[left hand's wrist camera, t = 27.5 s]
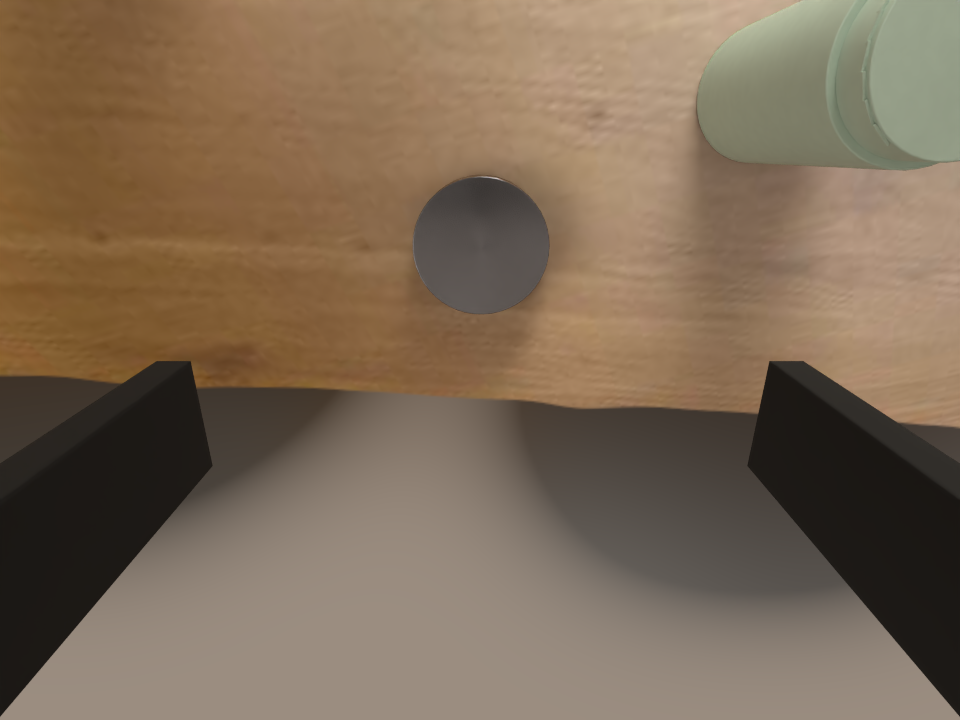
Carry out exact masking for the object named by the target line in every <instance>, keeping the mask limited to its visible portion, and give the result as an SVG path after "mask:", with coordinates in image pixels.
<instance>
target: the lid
mask: <svg viewBox="0 0 960 720" xmlns="http://www.w3.org/2000/svg"><path fill="white" fill-rule="evenodd" d="M413 255H414V261H415V264H416V268H417V270H418V273H419V275H420V277H421V279H422V281H423V282H424V284H425V285H426V287H427V288H428V289H429V291H430V292H431V293H432V294H433V295H434V296H435V297H436V298H438V299H439V300H440V301H442V302H443V303H445V304H446V305H448V306H450V307H452V308H454V309H456V310H459V311H462V312H466V313H472V314H490V313H496V312H500V311H503V310H506V309H508V308H510V307H512V306H514V305H516V304H517V303H519V302H520V301H522V300H523V299H524V298H525V297H527V296H528V295H529V294H530V293H531V292H532V290H533V289H534V288H535V287H536V285H537V284H538V282H539V281H540V279H541V277H542V275H543V273H544V271H545V268H546V265H547V261H548V256H549V235H548V229H547V226H546V223H545V220H544V218H543V216H542V213H541V211H540V210H539V208H538V207H537V205H536V204H535V203H534V201H533V200H532V199H531V198H530V197H529V196H528V195H527V194H526V193H525V192H524V191H523V190H522V189H520V188H519V187H517V186H516V185H514V184H513V183H511V182H509V181H507V180H505V179H502V178H499V177H495V176H489V175H474V176H468V177H463V178H460V179H458V180H455V181H453V182H451V183H449V184H448V185H446V186H444V187H443V188H442V189H441V190H439V191H438V192H437V193H436V194H435V195H434V196H433V197H432V198H431V199H430V200H429V201H428V203H427V204H426V205H425V207H424V208H423V210H422V212H421V214H420V215H419V218H418V220H417V223H416V226H415V230H414V236H413Z"/></svg>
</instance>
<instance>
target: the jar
mask: <svg viewBox="0 0 960 720" xmlns="http://www.w3.org/2000/svg"><path fill="white" fill-rule="evenodd" d="M697 114H698V119H699V124H700V127H701V130H702V132H703V134H704V136H705V138H706V139H707V141H708V142H709V144H710V145H711V146H712V147H713V148H714V149H715V150H716V151H717V152H719V153H720V154H721V155H723V156H725V157H727V158H728V159H731V160H734V161H737V162H743V163H760V164H780V165H801V166H821V167H842V168H862V169H883V170H913V169H920V168H924V167H928V166H932V165H934V164H937V163H940V162H943V163H947V162H957V161H960V0H802V1H800V2H798V3H796V4H794V5H791V6H789V7H787V8H785V9H783V10H781V11H779V12H776V13H774V14H772V15H770V16H768V17H766V18H763V19H761V20H759V21H757V22H755V23H753V24H751V25H748V26H746V27H744V28H743V29H741V30H739V31H737V32H736V33H735V34H733V35H732V36H731V37H729V38H728V39H727V40H726V41H725V42H724V43H723V44H722V45H721V46H720V47H719V48H718V49H717V51H716V52H715V53H714V55H713V56H712V58H711V59H710V61H709V63H708V64H707V66H706V68H705V70H704V73H703V75H702V78H701V81H700V85H699V89H698V95H697Z"/></svg>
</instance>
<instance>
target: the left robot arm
mask: <svg viewBox="0 0 960 720" xmlns="http://www.w3.org/2000/svg"><path fill="white" fill-rule="evenodd" d="M211 467H212V461H211V456H210V452H209V447H208V442H207V437H206V433H205V428H204V423H203V418H202V414H201V409H200V404H199V400H198V395H197V390H196V385H195V380H194V376H193V371H192V366H191V361H156V362H155V363H153V364H152V365H150V366H149V367H147V368H146V369H144V370H143V371H141V372H139V373H138V374H136V375H135V376H133V377H132V378H130V379H129V380H127V381H126V382H124V383H123V384H121V385H120V386H118V387H117V388H115V389H114V390H112V391H110V392H109V393H107V394H106V395H104V396H103V397H101V398H100V399H98V400H97V401H95V402H94V403H92V404H91V405H89V406H87V407H86V408H84V409H83V410H81V411H80V412H78V413H77V414H75V415H74V416H72V417H71V418H69V419H68V420H66V421H65V422H63V423H61V424H60V425H58V426H57V427H55V428H54V429H52V430H51V431H49V432H48V433H46V434H45V435H43V436H42V437H40V438H39V439H37V440H35V441H34V442H32V443H31V444H29V445H28V446H26V447H25V448H23V449H22V450H20V451H19V452H17V453H16V454H14V455H13V456H11V457H9V458H8V459H6V460H5V461H3V462H2V463H0V716H1V715H2V714H3V713H4V711H5V710H6V709H7V708H8V707H9V705H10V704H11V703H12V702H13V701H14V700H15V698H16V697H17V696H18V695H19V694H20V693H21V691H22V690H23V689H24V688H25V687H26V685H27V684H28V683H29V682H30V681H31V680H32V678H33V677H34V676H35V675H36V674H37V672H38V671H39V670H40V669H41V668H42V667H43V665H44V664H45V663H46V662H47V661H48V660H49V658H50V657H51V656H52V655H53V653H54V652H55V651H56V650H57V649H58V648H59V646H60V645H61V644H62V643H63V642H64V641H65V639H66V638H67V637H68V636H69V635H70V634H71V632H72V631H73V630H74V629H75V628H76V626H77V625H78V624H79V623H80V622H81V621H82V619H83V618H84V617H85V616H86V615H87V613H88V612H89V611H90V610H91V609H92V608H93V606H94V605H95V604H96V603H97V602H98V600H99V599H100V598H101V597H102V596H103V595H104V593H105V592H106V591H107V590H108V589H109V587H110V586H111V585H112V584H113V583H114V582H115V580H116V579H117V578H118V577H119V576H120V574H121V573H122V572H123V571H124V570H125V569H126V567H127V566H128V565H129V564H130V563H131V561H132V560H133V559H134V558H135V557H136V556H137V554H138V553H139V552H140V551H141V550H142V548H143V547H144V546H145V545H146V544H147V542H148V541H149V540H150V539H151V538H152V537H153V535H154V534H155V533H156V532H157V531H158V530H159V528H160V527H161V526H162V525H163V524H164V523H165V521H166V520H167V519H168V518H169V517H170V515H171V514H172V513H173V512H174V511H175V510H176V508H177V507H178V506H179V505H180V504H181V502H182V501H183V500H184V499H185V498H186V497H187V495H188V494H189V493H190V492H191V491H192V489H193V488H194V487H195V486H196V485H197V484H198V482H199V481H200V480H201V479H202V478H203V476H204V475H205V474H206V473H207V472H208V471H209V469H210V468H211ZM748 467H749V468H750V469H751V471H752V472H753V473H754V474H755V475H756V476H757V478H758V479H759V480H760V481H761V482H762V484H763V485H764V486H765V487H766V488H767V489H768V491H769V492H770V493H771V494H772V495H773V497H774V498H775V499H776V500H777V501H778V502H779V504H780V505H781V506H782V507H783V508H784V510H785V511H786V512H787V513H788V514H789V515H790V517H791V518H792V519H793V520H794V521H795V522H796V524H797V525H798V526H799V527H800V528H801V530H802V531H803V532H804V533H805V534H806V535H807V537H808V538H809V539H810V540H811V541H812V543H813V544H814V545H815V546H816V547H817V548H818V550H819V551H820V552H821V553H822V554H823V555H824V557H825V558H826V559H827V560H828V561H829V563H830V564H831V565H832V566H833V567H834V569H835V570H836V571H837V572H838V573H839V574H840V576H841V577H842V578H843V579H844V580H845V582H846V583H847V584H848V585H849V586H850V587H851V589H852V590H853V591H854V592H855V593H856V595H857V596H858V597H859V598H860V599H861V600H862V602H863V603H864V604H865V605H866V606H867V608H868V609H869V610H870V611H871V612H872V613H873V615H874V616H875V617H876V618H877V619H878V621H879V622H880V623H881V624H882V625H883V626H884V628H885V629H886V630H887V631H888V632H889V633H890V635H891V636H892V637H893V638H894V639H895V641H896V642H897V643H898V644H899V645H900V646H901V648H902V649H903V650H904V651H905V652H906V654H907V655H908V656H909V657H910V658H911V660H912V661H913V662H914V663H915V664H916V665H917V667H918V668H919V669H920V670H921V671H922V672H923V674H924V675H925V676H926V677H927V678H928V680H929V681H930V682H931V683H932V684H933V685H934V687H935V688H936V689H937V690H938V691H939V693H940V694H941V695H942V696H943V697H944V698H945V700H946V701H947V702H948V703H949V704H950V706H951V707H952V708H953V709H954V710H955V711H956V713H957V714H958V715H959V716H960V463H958V462H957V461H955V460H954V459H952V458H951V457H949V456H947V455H946V454H944V453H943V452H941V451H940V450H938V449H937V448H935V447H934V446H932V445H931V444H929V443H928V442H926V441H925V440H923V439H921V438H920V437H918V436H917V435H915V434H914V433H912V432H911V431H909V430H908V429H906V428H905V427H903V426H902V425H900V424H899V423H897V422H895V421H894V420H892V419H891V418H889V417H888V416H886V415H885V414H883V413H882V412H880V411H879V410H877V409H876V408H874V407H873V406H871V405H869V404H868V403H866V402H865V401H863V400H862V399H860V398H859V397H857V396H856V395H854V394H853V393H851V392H850V391H848V390H847V389H845V388H843V387H842V386H840V385H839V384H837V383H836V382H834V381H833V380H831V379H830V378H828V377H827V376H825V375H824V374H822V373H821V372H819V371H817V370H816V369H814V368H813V367H811V366H810V365H808V364H807V363H805V362H804V361H769V366H768V371H767V376H766V380H765V385H764V390H763V395H762V399H761V404H760V409H759V414H758V419H757V423H756V428H755V433H754V437H753V443H752V447H751V452H750V456H749V461H748Z"/></svg>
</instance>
